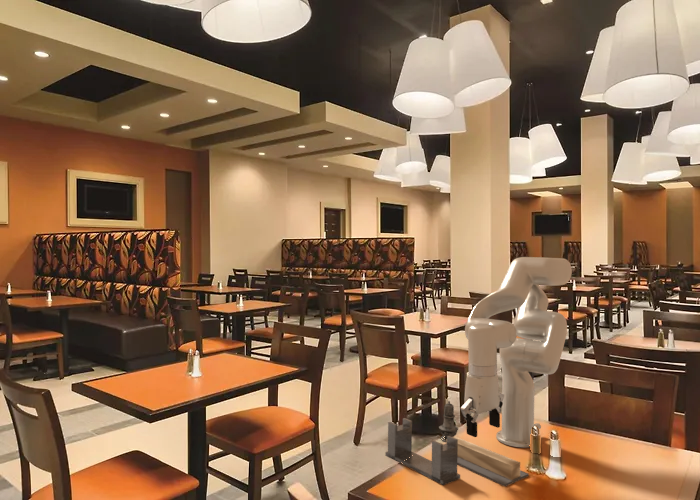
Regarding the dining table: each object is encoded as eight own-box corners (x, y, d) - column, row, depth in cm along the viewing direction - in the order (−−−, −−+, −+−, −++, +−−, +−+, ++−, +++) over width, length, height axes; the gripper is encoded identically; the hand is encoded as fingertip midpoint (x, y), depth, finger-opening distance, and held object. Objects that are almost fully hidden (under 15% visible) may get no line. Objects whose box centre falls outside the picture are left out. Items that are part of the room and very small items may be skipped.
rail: (454, 448, 148) (454, 436, 148) (520, 476, 130) (520, 462, 130) (446, 451, 145) (446, 438, 145) (511, 480, 128) (511, 465, 128)
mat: (460, 447, 150) (460, 445, 150) (528, 476, 132) (528, 473, 132) (437, 455, 144) (437, 453, 144) (505, 486, 126) (505, 484, 126)
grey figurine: (458, 443, 153) (458, 404, 153) (438, 442, 154) (439, 402, 154) (458, 436, 159) (458, 398, 159) (439, 435, 160) (439, 397, 160)
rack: (401, 450, 147) (402, 416, 147) (460, 478, 130) (460, 440, 130) (385, 455, 143) (385, 421, 143) (443, 485, 126) (443, 446, 126)
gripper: (491, 361, 146) (492, 418, 147) (450, 372, 136) (451, 434, 136) (513, 366, 140) (514, 426, 141) (473, 379, 130) (473, 444, 130)
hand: (483, 430), depth 139 cm, fingers open, 9 cm apart
